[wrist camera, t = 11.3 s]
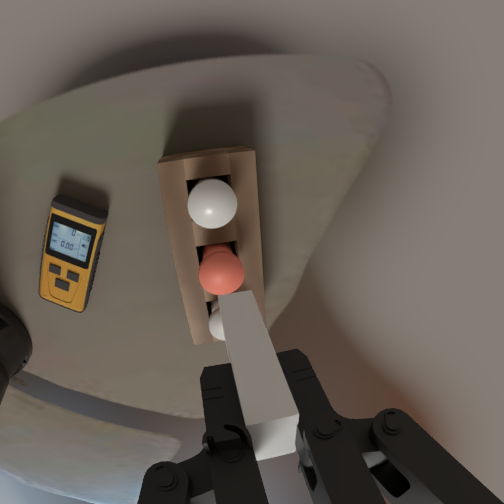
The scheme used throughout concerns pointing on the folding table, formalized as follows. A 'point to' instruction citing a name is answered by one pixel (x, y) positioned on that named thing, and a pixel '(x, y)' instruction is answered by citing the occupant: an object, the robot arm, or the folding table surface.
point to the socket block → (193, 235)
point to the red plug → (220, 269)
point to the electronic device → (70, 252)
